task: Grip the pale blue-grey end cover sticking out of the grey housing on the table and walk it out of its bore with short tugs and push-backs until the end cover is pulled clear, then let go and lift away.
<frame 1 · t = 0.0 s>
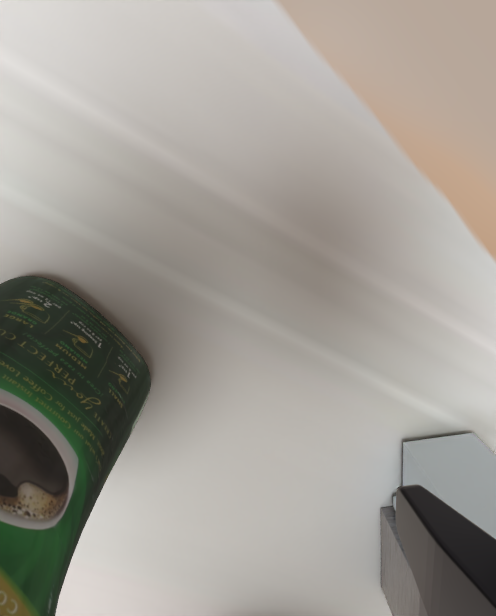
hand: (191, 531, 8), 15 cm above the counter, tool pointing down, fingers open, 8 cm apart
end cover: (471, 564, 24), point 4 cm above the counter, slide at 0.0 cm
coffee jar: (63, 360, 23), on the counter, touching gripper
housing: (431, 541, 29), on the counter
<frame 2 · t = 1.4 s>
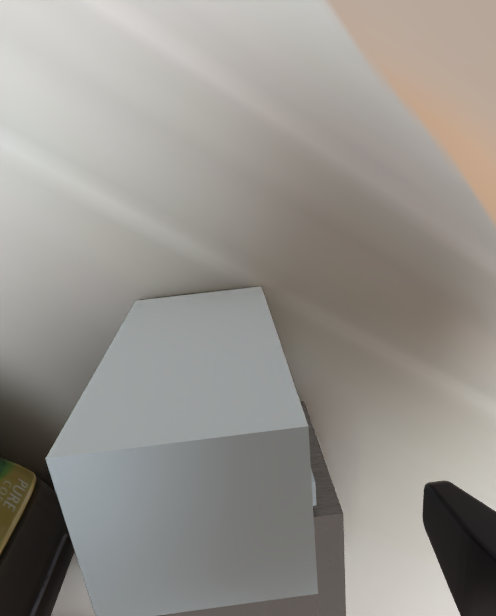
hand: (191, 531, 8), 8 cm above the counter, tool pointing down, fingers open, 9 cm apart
end cover: (217, 505, 13), point 4 cm above the counter, slide at 0.0 cm
housing: (226, 483, 18), on the counter
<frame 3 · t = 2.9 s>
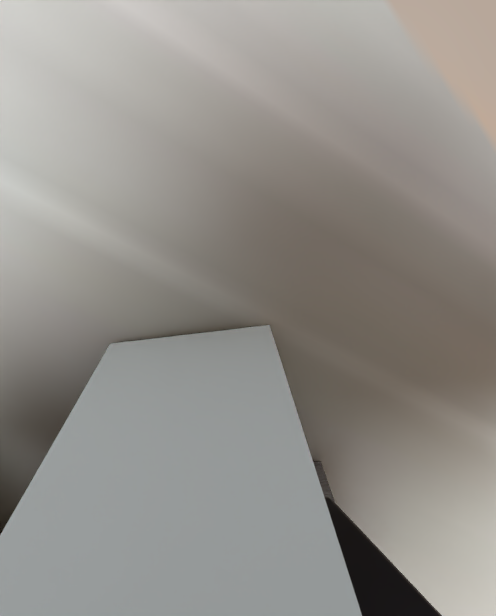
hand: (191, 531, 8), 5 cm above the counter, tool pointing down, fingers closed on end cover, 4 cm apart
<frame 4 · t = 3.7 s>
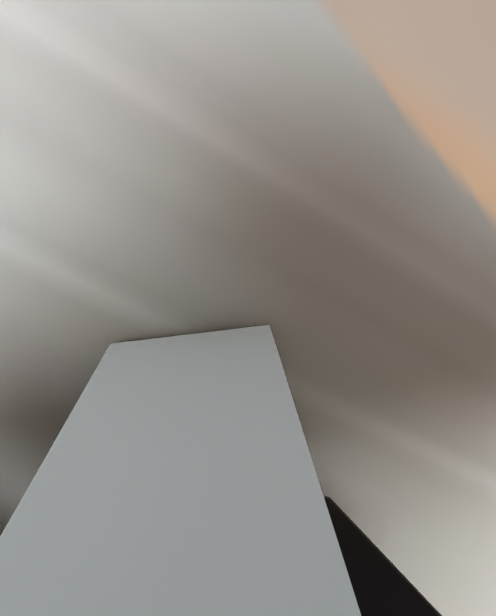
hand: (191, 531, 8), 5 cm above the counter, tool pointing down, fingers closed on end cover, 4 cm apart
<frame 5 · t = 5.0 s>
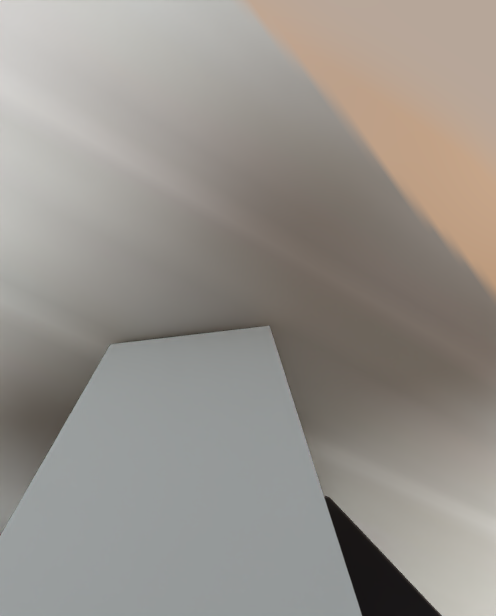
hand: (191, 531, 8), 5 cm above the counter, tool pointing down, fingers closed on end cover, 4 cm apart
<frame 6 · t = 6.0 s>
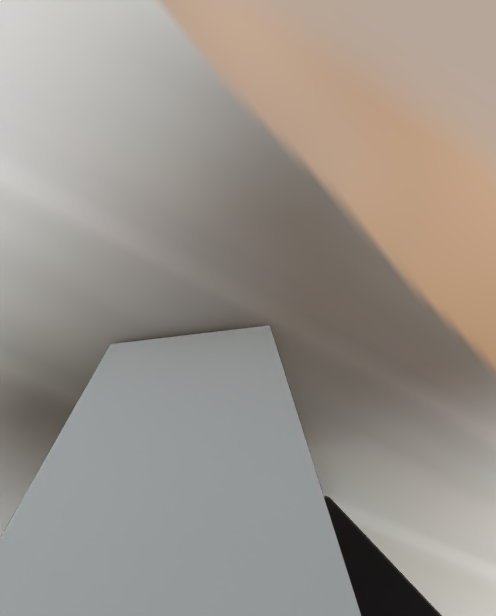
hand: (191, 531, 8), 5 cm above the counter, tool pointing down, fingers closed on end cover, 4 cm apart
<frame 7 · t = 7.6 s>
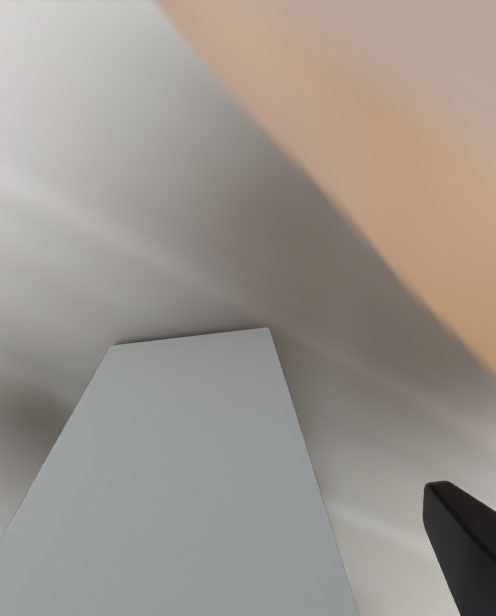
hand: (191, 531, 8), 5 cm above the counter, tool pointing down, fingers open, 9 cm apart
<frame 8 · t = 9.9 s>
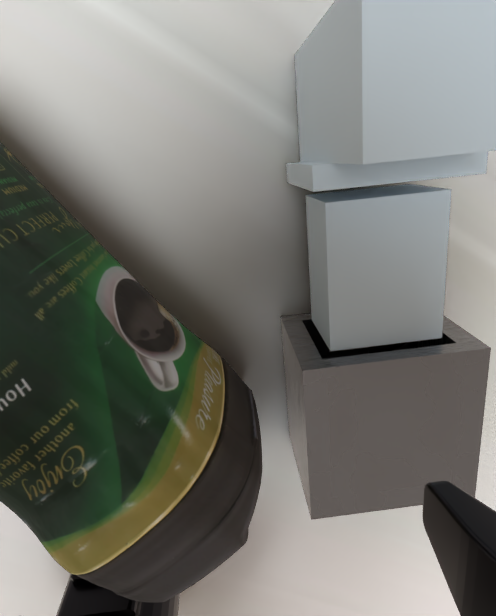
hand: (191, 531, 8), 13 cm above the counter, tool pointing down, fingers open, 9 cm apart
end cover: (386, 200, 15), point 4 cm above the counter, slide at 5.9 cm
housing: (352, 371, 22), on the counter
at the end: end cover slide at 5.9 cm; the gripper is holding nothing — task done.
